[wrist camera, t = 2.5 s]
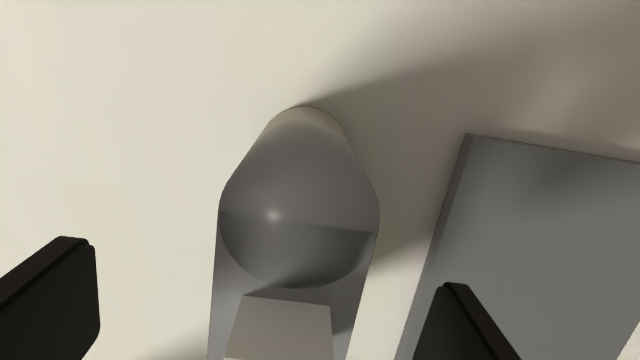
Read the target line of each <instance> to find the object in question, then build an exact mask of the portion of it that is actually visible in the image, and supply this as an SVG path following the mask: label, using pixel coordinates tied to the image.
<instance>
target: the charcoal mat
mask: <svg viewBox="0 0 640 360" xmlns="http://www.w3.org/2000/svg"><path fill="white" fill-rule="evenodd" d="M445 282H454V283H462V284H467V285H468V286H469V287H470V288H471V290H472V291H473V293H474V294H475V295H476V297H477V298H478V300H479V301H480V302H481V304H482V305H483V307H484V308H485V309H486V311H487V312H488V314H489V315H490V316H491V318H492V319H493V320H494V322H495V323H496V325H497V326H498V327H499V329H500V330H501V332H502V333H503V334H504V336H505V337H506V339H507V340H508V341H509V343H510V344H511V345H512V347H513V348H514V350H515V351H516V352H517V354H518V355H519V357H520V358H521V359H522V360H616V359H617V358H618V356H619V354H620V353H621V351H622V350H623V348H624V346H625V345H626V343H627V341H628V340H629V338H630V336H631V335H632V333H633V331H634V330H635V328H636V326H637V325H638V323H639V321H640V163H638V162H632V161H627V160H621V159H615V158H609V157H603V156H597V155H591V154H585V153H579V152H573V151H568V150H562V149H556V148H550V147H544V146H538V145H532V144H526V143H520V142H514V141H509V140H503V139H497V138H491V137H485V136H479V135H473V134H467V133H466V136H465V139H464V142H463V145H462V148H461V151H460V154H459V158H458V161H457V164H456V167H455V170H454V173H453V176H452V180H451V183H450V186H449V189H448V192H447V195H446V198H445V202H444V205H443V208H442V211H441V214H440V217H439V220H438V224H437V227H436V230H435V233H434V236H433V239H432V242H431V246H430V249H429V252H428V255H427V258H426V261H425V264H424V268H423V271H422V274H421V277H420V280H419V283H418V286H417V290H416V293H415V296H414V299H413V302H412V305H411V308H410V312H409V315H408V318H407V321H406V324H405V327H404V330H403V334H402V337H401V340H400V343H399V346H398V349H397V352H396V356H395V359H394V360H412V359H413V354H414V351H415V348H416V346H417V343H418V340H419V337H420V334H421V331H422V329H423V326H424V323H425V320H426V317H427V314H428V311H429V309H430V306H431V303H432V300H433V297H434V294H435V292H436V289H437V288H438V287H439V286H442V285H443V284H444V283H445Z"/></svg>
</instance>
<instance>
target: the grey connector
mask: <svg viewBox="0 0 640 360" xmlns="http://www.w3.org/2000/svg"><path fill="white" fill-rule="evenodd" d="M378 227H379V206H378V202H377V198H376V195H375V192H374V190H373V187H372V185H371V183H370V181H369V179H368V177H367V175H366V173H365V171H364V169H363V168H362V166H361V164H360V162H359V160H358V158H357V156H356V154H355V152H354V150H353V148H352V146H351V144H350V142H349V140H348V138H347V136H346V134H345V132H344V130H343V128H342V127H341V125H340V124H339V123H338V121H337V120H336V119H334V118H333V117H332V116H331V115H329V114H328V113H326V112H324V111H323V110H320V109H317V108H313V107H306V106H301V107H293V108H290V109H287V110H285V111H283V112H281V113H279V114H278V115H276V116H275V117H274V118H273V119H272V120H271V121H270V122H269V123H268V124H267V126H266V127H265V129H264V130H263V131H262V133H261V134H260V136H259V137H258V139H257V140H256V141H255V143H254V144H253V146H252V147H251V149H250V150H249V151H248V153H247V154H246V156H245V157H244V159H243V160H242V161H241V163H240V164H239V166H238V167H237V169H236V170H235V171H234V173H233V174H232V176H231V177H230V179H229V180H228V182H227V183H226V186H225V188H224V190H223V192H222V195H221V198H220V202H219V209H218V220H217V233H216V246H215V259H214V272H213V286H212V299H211V312H210V325H209V338H208V351H207V360H345V358H346V354H347V351H348V347H349V343H350V339H351V335H352V331H353V327H354V323H355V319H356V315H357V311H358V307H359V303H360V300H361V296H362V292H363V288H364V284H365V280H366V276H367V272H368V268H369V264H370V260H371V256H372V252H373V248H374V245H375V241H376V237H377V233H378Z"/></svg>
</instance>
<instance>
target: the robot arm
mask: <svg viewBox="0 0 640 360" xmlns="http://www.w3.org/2000/svg"><path fill="white" fill-rule="evenodd" d="M99 331H100V315H99V301H98V287H97V272H96V258H95V249H94V247H93V246H92V245H89V242H88V241H87V240H86V239H83V238H75V237H67V236H59V237H57V238H55V239H54V240H52V241H51V242H50V243H48V244H47V245H45V246H44V247H43V248H41V249H40V250H38V251H37V252H36V253H34V254H33V255H32V256H30V257H29V258H27V259H26V260H25V261H23V262H22V263H21V264H19V265H18V266H16V267H15V268H14V269H12V270H11V271H10V272H8V273H7V274H5V275H4V276H3V277H1V278H0V360H82V358H83V357H84V356H85V354H86V353H87V351H88V350H89V349H90V347H91V346H92V345H93V343H94V342H95V340H96V339H97V337H98V334H99ZM412 360H522V359H521V358H520V357H519V355H518V354H517V352H516V351H515V350H514V348H513V347H512V345H511V344H510V343H509V341H508V340H507V339H506V337H505V336H504V334H503V333H502V332H501V330H500V329H499V327H498V326H497V325H496V323H495V322H494V320H493V319H492V318H491V316H490V315H489V314H488V312H487V311H486V309H485V308H484V307H483V305H482V304H481V302H480V301H479V300H478V298H477V297H476V295H475V294H474V293H473V291H472V290H471V288H470V287H469V286H468V285H467V284H462V283H454V282H445V283H444V284H443V285H442V286H439V287H438V288H437V289H436V292H435V294H434V297H433V300H432V303H431V306H430V309H429V311H428V314H427V317H426V320H425V323H424V326H423V329H422V331H421V334H420V337H419V340H418V343H417V346H416V348H415V351H414V354H413V359H412Z"/></svg>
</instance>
